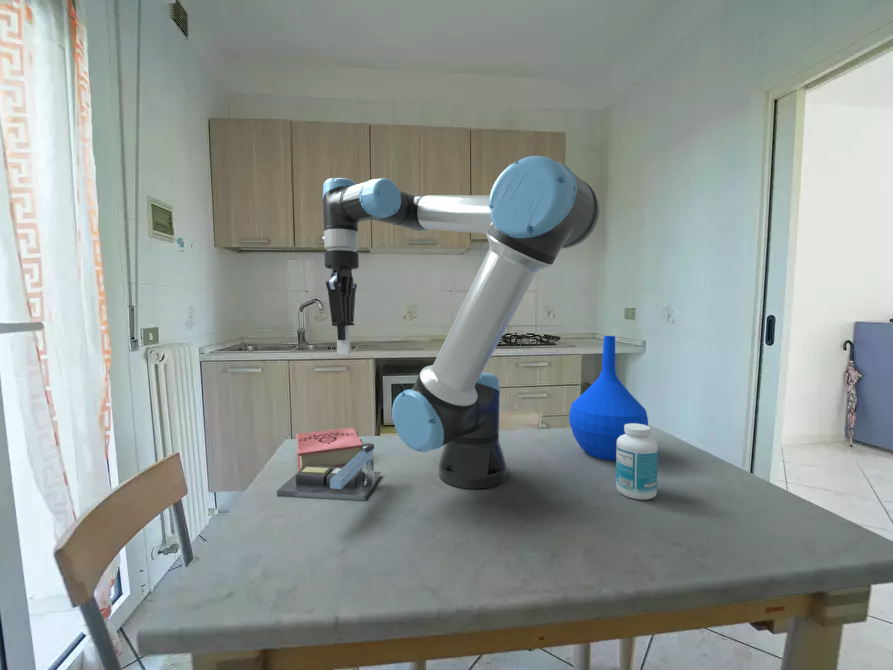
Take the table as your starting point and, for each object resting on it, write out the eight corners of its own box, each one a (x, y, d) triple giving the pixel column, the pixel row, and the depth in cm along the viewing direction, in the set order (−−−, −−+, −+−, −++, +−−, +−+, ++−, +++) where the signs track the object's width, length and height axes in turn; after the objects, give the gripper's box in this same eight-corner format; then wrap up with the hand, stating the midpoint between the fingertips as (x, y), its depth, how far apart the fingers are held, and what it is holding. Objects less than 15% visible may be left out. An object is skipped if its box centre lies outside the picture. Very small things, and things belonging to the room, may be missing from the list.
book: (366, 464, 95) (366, 444, 94) (298, 474, 89) (298, 453, 89) (356, 445, 108) (356, 427, 108) (297, 453, 102) (296, 434, 102)
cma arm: (364, 452, 83) (364, 443, 83) (376, 453, 82) (376, 443, 82) (328, 488, 67) (328, 476, 67) (342, 489, 66) (342, 477, 66)
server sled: (381, 476, 87) (381, 448, 87) (365, 500, 76) (364, 468, 76) (303, 472, 89) (302, 445, 89) (276, 495, 78) (275, 464, 78)
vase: (565, 439, 111) (567, 333, 109) (635, 443, 107) (639, 334, 105) (572, 465, 93) (575, 338, 91) (657, 471, 89) (661, 339, 87)
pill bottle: (655, 488, 81) (657, 423, 80) (657, 504, 74) (660, 434, 73) (615, 481, 84) (617, 419, 83) (614, 496, 77) (616, 429, 76)
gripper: (336, 255, 97) (339, 350, 99) (312, 247, 84) (315, 357, 86) (366, 254, 96) (368, 350, 98) (346, 246, 83) (349, 357, 85)
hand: (343, 353), depth 92 cm, fingers closed
